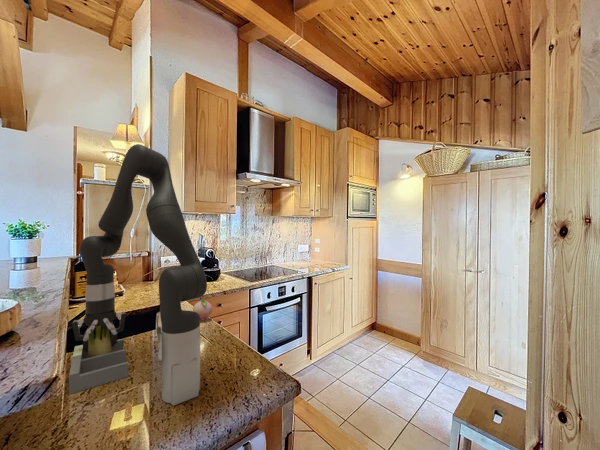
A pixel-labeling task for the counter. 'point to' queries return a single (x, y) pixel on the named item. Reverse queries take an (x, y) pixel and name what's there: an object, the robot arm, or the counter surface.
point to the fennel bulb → (99, 342)
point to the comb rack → (97, 368)
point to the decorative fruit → (203, 309)
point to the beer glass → (159, 335)
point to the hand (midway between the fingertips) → (100, 348)
